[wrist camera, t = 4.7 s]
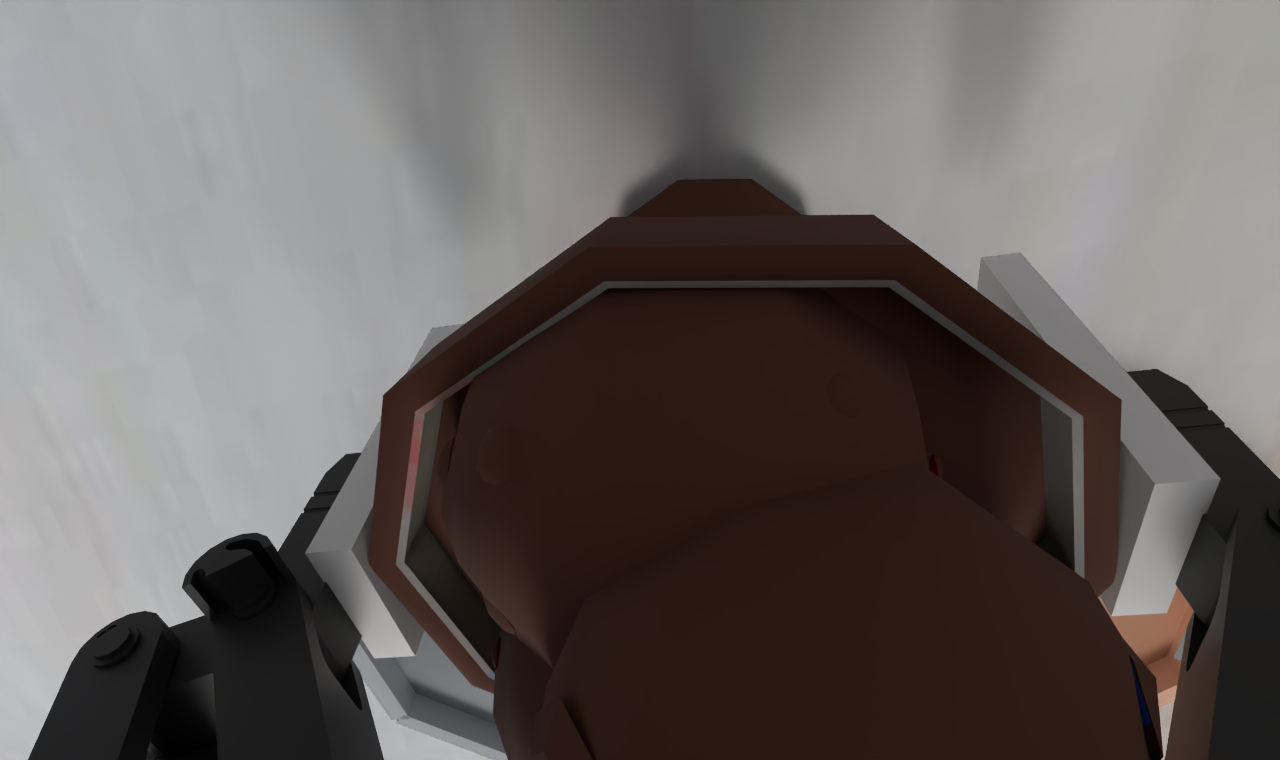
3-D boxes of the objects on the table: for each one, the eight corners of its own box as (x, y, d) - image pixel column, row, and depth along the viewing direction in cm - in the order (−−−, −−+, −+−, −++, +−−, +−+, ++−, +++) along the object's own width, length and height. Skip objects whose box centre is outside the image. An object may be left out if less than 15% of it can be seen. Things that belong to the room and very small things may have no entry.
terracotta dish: (735, 464, 22) (739, 506, 20) (1273, 414, 20) (1320, 457, 18) (769, 721, 30) (773, 763, 29) (1148, 706, 28) (1173, 751, 27)
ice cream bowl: (463, 64, 16) (-353, 755, 3) (984, 52, 15) (2358, 869, 3) (525, 435, 22) (316, 1154, 9) (895, 438, 21) (1184, 1220, 9)
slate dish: (295, 504, 24) (269, 545, 23) (735, 464, 22) (739, 506, 20) (441, 734, 33) (429, 774, 31) (769, 721, 30) (773, 763, 29)
